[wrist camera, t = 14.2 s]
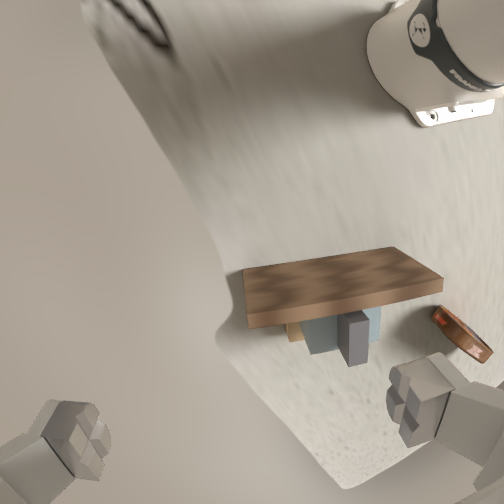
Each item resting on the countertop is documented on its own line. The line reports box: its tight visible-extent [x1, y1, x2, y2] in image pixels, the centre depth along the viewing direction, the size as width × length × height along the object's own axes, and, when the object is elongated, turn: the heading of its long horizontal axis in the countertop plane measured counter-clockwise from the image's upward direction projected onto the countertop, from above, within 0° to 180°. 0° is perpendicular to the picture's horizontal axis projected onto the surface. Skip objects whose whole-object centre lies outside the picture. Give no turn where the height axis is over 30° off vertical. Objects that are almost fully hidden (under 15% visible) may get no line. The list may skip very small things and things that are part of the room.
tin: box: [431, 305, 494, 364], centre depth 40 cm, size 15×3×8 cm, turn 58°
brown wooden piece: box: [243, 247, 444, 342], centre depth 35 cm, size 20×10×12 cm, turn 98°
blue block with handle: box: [300, 306, 381, 367], centre depth 33 cm, size 8×6×10 cm
